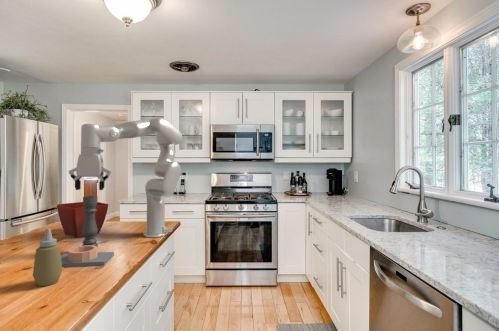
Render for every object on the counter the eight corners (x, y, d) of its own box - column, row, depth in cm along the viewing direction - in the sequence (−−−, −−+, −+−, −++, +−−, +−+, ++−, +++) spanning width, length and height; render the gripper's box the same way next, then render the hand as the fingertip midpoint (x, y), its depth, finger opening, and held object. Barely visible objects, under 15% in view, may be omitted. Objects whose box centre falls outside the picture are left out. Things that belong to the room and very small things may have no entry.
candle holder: (90, 254, 120) (91, 197, 120) (78, 253, 122) (78, 197, 121) (100, 250, 127) (101, 196, 126) (89, 249, 128) (89, 195, 128)
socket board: (113, 255, 120) (114, 243, 120) (104, 265, 108) (104, 252, 108) (63, 257, 117) (63, 245, 117) (47, 267, 105) (48, 254, 105)
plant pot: (109, 233, 157) (109, 203, 157) (73, 240, 141) (73, 208, 141) (91, 228, 167) (91, 200, 167) (55, 235, 151) (55, 204, 151)
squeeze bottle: (43, 277, 96) (43, 226, 96) (67, 277, 97) (67, 226, 97) (26, 288, 88) (26, 232, 88) (52, 288, 89) (53, 232, 89)
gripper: (113, 152, 129) (113, 189, 129) (73, 151, 126) (72, 188, 126) (108, 151, 121) (107, 190, 121) (65, 150, 118) (64, 190, 118)
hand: (89, 189), depth 124 cm, fingers open, 9 cm apart
